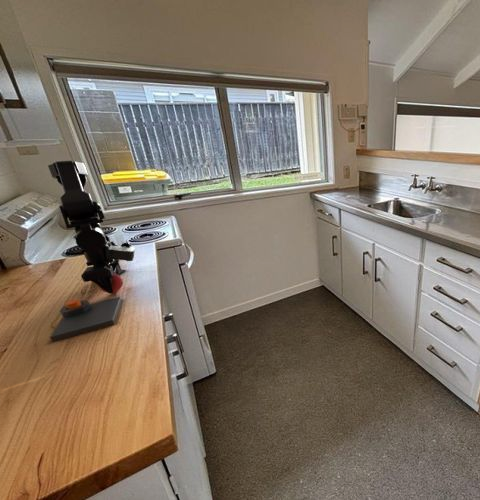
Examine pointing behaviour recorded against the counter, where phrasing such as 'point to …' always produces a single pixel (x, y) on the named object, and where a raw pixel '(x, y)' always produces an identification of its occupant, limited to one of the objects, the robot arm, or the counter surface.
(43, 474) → the counter surface
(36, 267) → the counter surface
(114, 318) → the scale
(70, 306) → the tare button
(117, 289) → the onion
